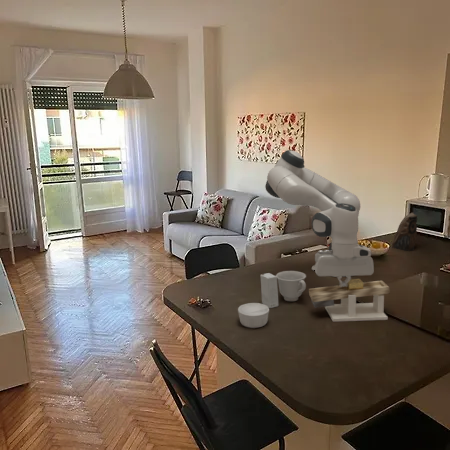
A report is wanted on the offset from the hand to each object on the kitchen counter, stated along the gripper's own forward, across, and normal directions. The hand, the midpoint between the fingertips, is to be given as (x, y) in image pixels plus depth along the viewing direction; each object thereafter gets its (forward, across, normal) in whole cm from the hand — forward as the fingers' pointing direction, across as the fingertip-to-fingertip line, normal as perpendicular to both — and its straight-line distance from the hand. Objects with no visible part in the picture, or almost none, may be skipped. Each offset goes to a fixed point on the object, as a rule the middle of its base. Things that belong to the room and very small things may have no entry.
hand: (343, 286), depth 148 cm
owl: (+10, +58, +88) cm, 106 cm away
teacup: (+11, -16, +15) cm, 24 cm away
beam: (+5, +2, 0) cm, 6 cm away
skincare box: (+11, -26, +10) cm, 30 cm away
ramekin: (+11, -33, -5) cm, 35 cm away
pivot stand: (+10, +4, 0) cm, 11 cm away
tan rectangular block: (+1, +4, 0) cm, 4 cm away
